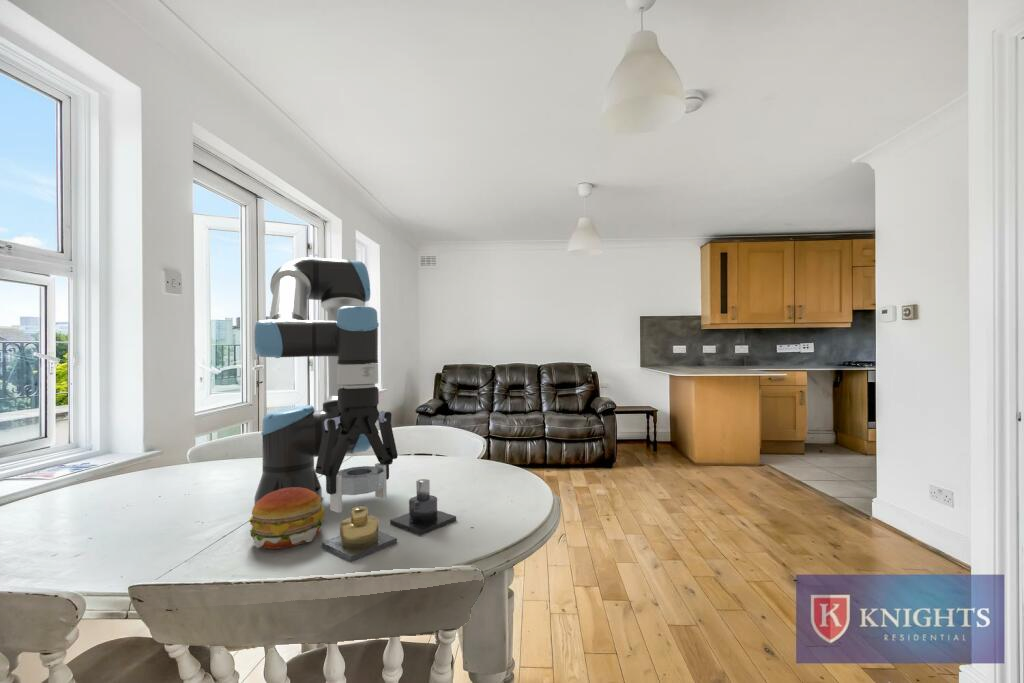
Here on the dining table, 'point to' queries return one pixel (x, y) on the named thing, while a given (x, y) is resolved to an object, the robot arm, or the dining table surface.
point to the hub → (358, 536)
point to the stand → (423, 512)
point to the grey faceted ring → (361, 480)
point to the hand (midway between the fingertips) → (359, 503)
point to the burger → (286, 518)
